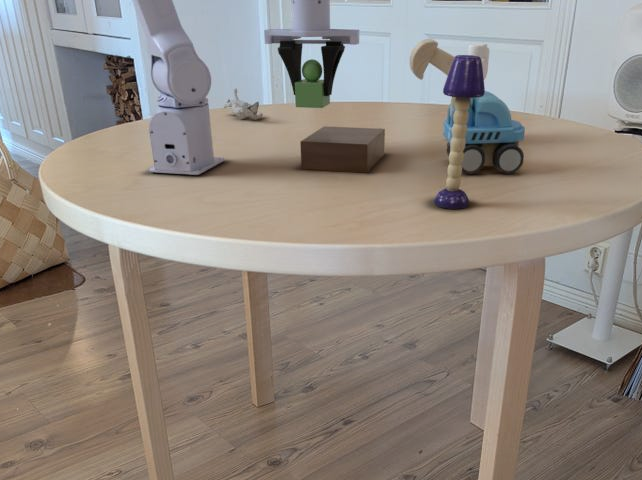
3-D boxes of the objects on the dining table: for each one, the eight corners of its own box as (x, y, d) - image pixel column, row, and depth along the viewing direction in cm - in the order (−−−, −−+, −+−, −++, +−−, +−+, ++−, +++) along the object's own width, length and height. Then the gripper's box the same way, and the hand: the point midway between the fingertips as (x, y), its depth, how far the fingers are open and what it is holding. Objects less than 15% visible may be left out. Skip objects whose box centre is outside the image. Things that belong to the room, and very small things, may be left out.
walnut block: (367, 172, 95) (367, 144, 93) (301, 169, 98) (300, 141, 96) (384, 154, 105) (384, 128, 103) (324, 151, 108) (323, 126, 106)
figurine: (443, 142, 113) (449, 45, 106) (456, 132, 121) (463, 41, 113) (485, 145, 111) (494, 46, 103) (496, 134, 118) (505, 42, 111)
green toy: (322, 108, 103) (321, 61, 99) (295, 107, 104) (293, 60, 100) (330, 103, 106) (329, 58, 103) (304, 103, 107) (302, 57, 104)
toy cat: (250, 118, 142) (278, 105, 132) (239, 136, 141) (267, 125, 131) (221, 93, 137) (248, 78, 128) (210, 111, 136) (237, 98, 127)
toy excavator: (402, 162, 101) (407, 37, 92) (511, 160, 101) (526, 35, 93) (409, 176, 93) (415, 41, 85) (526, 174, 94) (544, 40, 85)
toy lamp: (469, 199, 83) (482, 53, 75) (477, 209, 79) (492, 57, 71) (431, 199, 83) (440, 54, 75) (437, 210, 79) (448, 58, 71)
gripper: (364, -5, 99) (363, 92, 106) (273, -4, 103) (278, 90, 109) (353, -4, 93) (352, 98, 100) (257, -3, 97) (263, 96, 103)
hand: (312, 94), depth 104 cm, fingers closed on green toy, 4 cm apart
